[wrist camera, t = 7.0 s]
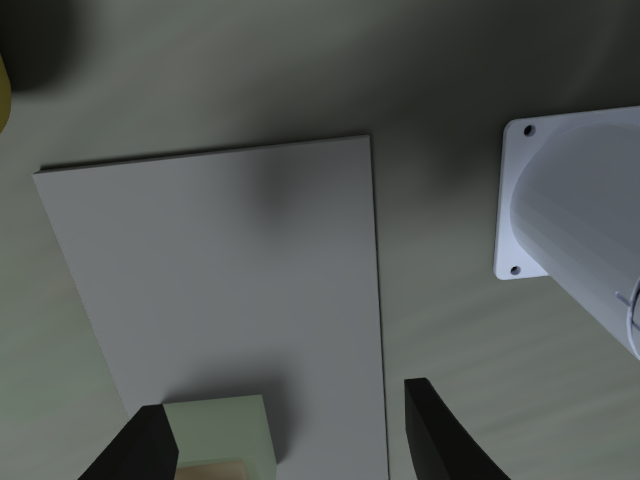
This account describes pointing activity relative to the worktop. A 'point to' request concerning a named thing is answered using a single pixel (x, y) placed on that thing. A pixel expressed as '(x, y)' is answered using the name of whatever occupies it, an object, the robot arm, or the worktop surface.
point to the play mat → (238, 289)
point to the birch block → (213, 471)
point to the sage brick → (224, 434)
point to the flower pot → (4, 96)
